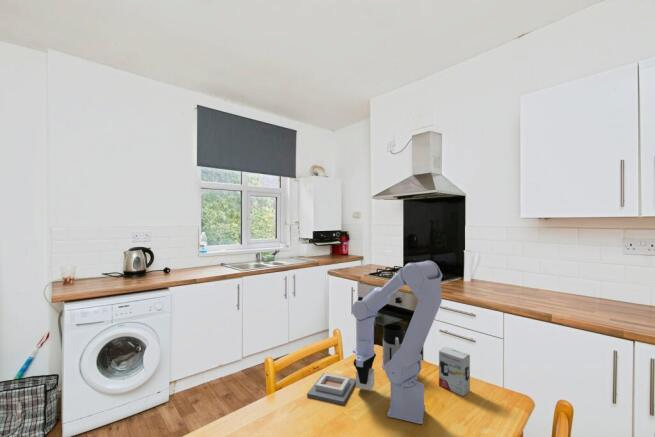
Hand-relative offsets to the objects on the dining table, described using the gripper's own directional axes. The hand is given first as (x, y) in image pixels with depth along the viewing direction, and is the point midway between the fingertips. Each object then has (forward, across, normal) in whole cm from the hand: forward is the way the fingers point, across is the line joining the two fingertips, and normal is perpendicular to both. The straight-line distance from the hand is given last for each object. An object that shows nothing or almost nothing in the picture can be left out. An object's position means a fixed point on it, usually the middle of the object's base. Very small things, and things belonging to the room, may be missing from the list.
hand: (365, 379), depth 97 cm
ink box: (+4, -12, +27) cm, 30 cm away
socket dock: (+3, +3, -10) cm, 11 cm away
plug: (+2, 0, 0) cm, 2 cm away
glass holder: (+4, -17, +7) cm, 19 cm away
